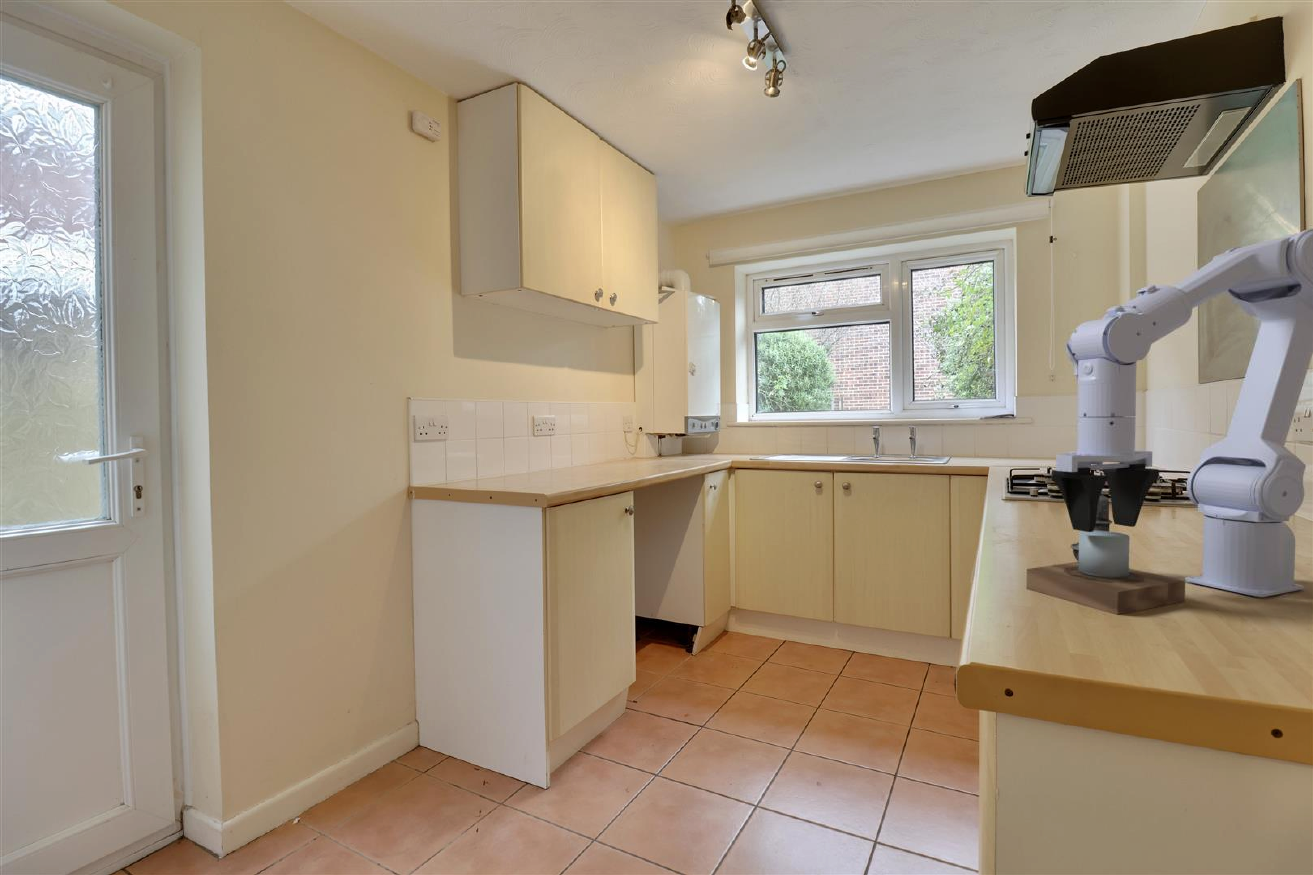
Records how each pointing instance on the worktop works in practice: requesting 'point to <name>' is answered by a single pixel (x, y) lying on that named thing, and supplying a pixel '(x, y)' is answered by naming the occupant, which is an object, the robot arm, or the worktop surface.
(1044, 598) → the worktop surface
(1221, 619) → the worktop surface
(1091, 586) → the board
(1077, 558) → the grey flared cylinder
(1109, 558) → the peg
